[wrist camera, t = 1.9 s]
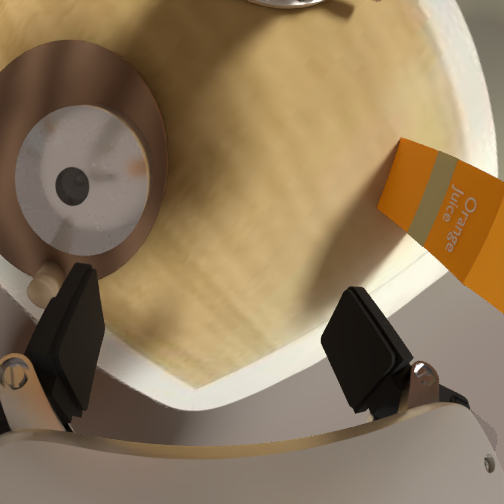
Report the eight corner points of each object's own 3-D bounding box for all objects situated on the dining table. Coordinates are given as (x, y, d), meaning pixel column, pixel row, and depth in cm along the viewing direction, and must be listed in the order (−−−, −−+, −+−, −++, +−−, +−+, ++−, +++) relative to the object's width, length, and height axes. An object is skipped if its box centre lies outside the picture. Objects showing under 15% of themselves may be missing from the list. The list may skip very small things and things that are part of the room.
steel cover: (162, 105, 18) (155, 105, 15) (149, 243, 23) (144, 263, 21) (33, 108, 15) (13, 112, 12) (38, 233, 20) (24, 250, 18)
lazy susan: (191, 38, 16) (188, 20, 11) (160, 286, 28) (156, 324, 23) (-22, 67, 10) (-55, 70, 6) (-9, 264, 22) (-30, 291, 17)
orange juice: (441, 158, 26) (570, 238, 9) (417, 220, 30) (526, 323, 14) (400, 136, 24) (563, 219, 7) (374, 208, 28) (503, 332, 12)
